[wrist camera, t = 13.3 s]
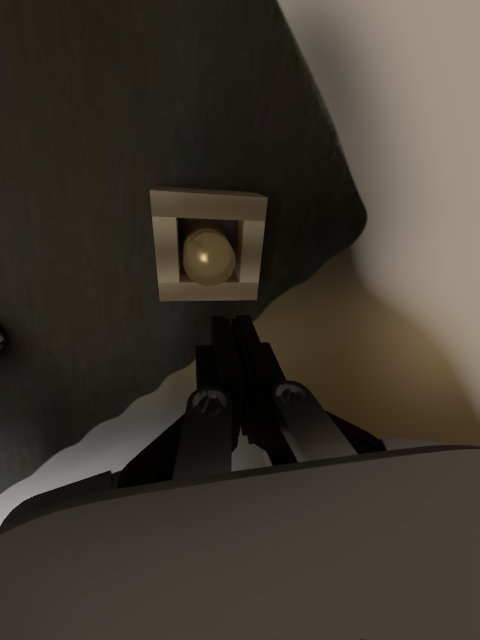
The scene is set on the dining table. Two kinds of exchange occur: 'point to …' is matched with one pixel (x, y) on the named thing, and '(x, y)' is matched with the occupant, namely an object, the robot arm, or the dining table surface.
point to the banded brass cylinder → (207, 253)
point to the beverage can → (2, 343)
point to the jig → (237, 225)
